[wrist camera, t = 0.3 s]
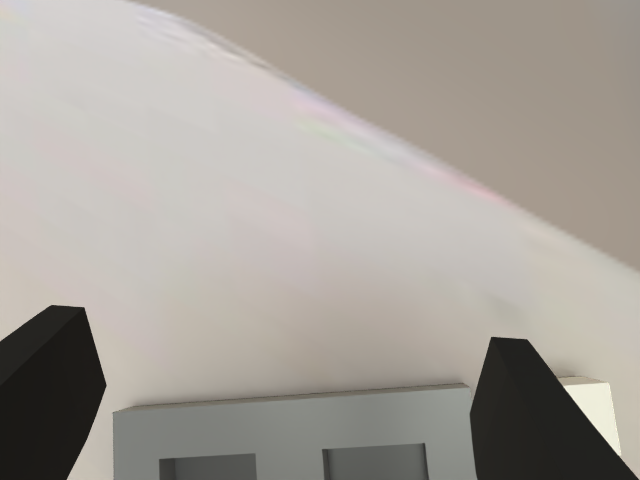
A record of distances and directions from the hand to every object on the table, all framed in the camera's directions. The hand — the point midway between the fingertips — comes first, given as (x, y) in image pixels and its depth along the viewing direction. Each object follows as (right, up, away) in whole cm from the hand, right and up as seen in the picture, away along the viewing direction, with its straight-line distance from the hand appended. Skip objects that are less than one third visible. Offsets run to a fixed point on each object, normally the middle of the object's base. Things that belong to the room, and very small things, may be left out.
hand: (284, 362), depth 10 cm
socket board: (-1, -15, +28) cm, 31 cm away
